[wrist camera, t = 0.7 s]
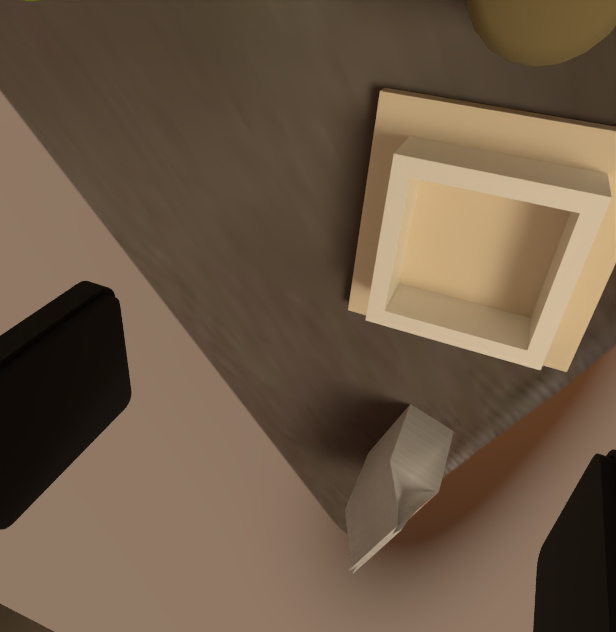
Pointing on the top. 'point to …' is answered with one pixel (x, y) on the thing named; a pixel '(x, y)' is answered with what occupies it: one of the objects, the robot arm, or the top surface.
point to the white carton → (395, 482)
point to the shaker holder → (486, 226)
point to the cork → (541, 27)
